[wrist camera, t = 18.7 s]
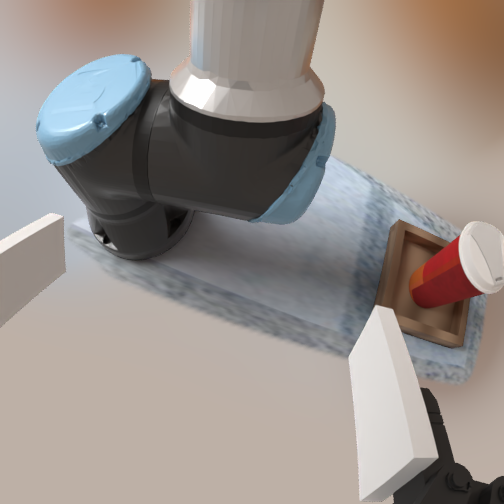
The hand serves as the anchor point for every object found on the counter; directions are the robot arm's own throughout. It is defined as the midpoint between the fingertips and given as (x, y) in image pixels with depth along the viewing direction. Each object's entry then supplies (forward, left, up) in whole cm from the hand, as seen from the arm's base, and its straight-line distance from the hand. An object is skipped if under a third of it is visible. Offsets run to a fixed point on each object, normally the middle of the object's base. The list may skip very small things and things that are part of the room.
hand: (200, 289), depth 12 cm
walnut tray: (+1, +29, -28) cm, 40 cm away
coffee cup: (+1, +29, -27) cm, 40 cm away
